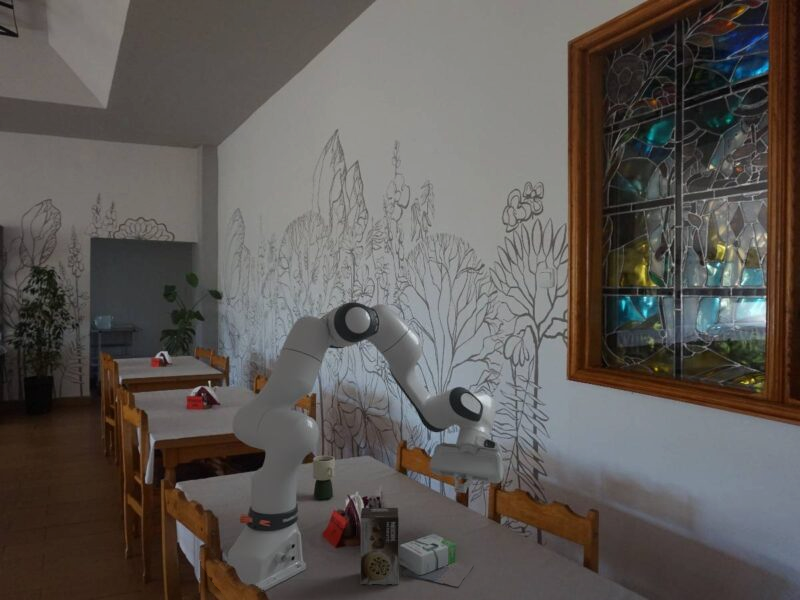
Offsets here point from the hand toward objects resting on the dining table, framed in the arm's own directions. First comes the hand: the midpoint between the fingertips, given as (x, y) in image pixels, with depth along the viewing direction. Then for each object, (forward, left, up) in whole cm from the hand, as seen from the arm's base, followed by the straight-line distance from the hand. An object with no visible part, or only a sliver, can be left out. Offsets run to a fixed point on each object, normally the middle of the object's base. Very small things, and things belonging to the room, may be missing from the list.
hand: (459, 491), depth 167 cm
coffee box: (-25, +12, -15) cm, 31 cm away
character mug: (+17, +52, -15) cm, 57 cm away
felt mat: (-15, 0, -15) cm, 21 cm away
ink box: (-8, +1, -12) cm, 15 cm away
